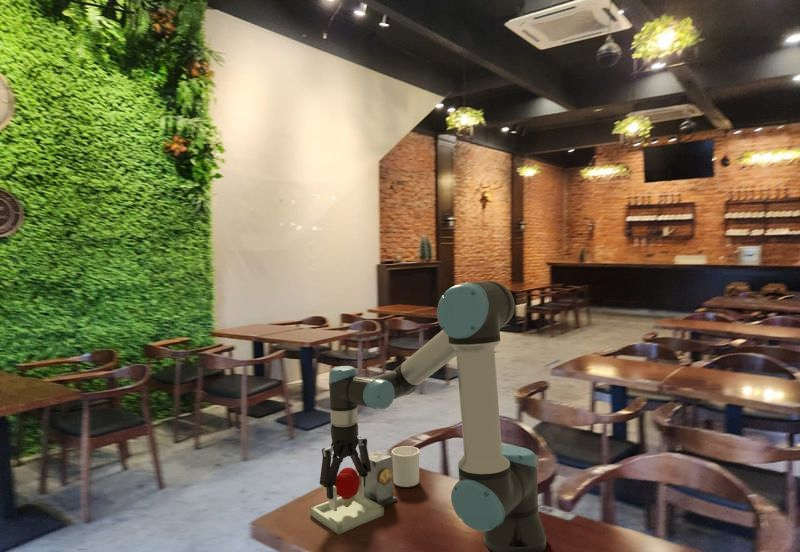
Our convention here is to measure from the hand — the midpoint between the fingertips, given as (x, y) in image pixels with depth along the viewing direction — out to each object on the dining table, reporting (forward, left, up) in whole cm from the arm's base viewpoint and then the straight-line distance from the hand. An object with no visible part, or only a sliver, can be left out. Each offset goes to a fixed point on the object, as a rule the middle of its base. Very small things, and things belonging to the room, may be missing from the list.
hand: (347, 503), depth 143 cm
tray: (0, 0, -3) cm, 3 cm away
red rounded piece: (0, 0, -1) cm, 1 cm away
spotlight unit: (+2, -12, -3) cm, 13 cm away
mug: (+5, -26, -4) cm, 27 cm away
